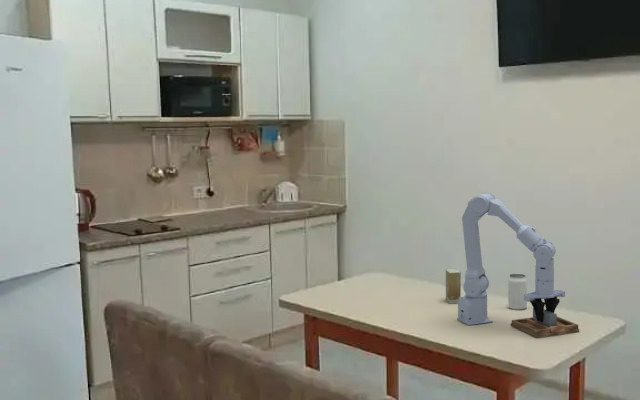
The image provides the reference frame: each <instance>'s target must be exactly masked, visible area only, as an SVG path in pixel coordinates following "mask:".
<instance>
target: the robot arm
mask: <svg viewBox="0 0 640 400" xmlns="http://www.w3.org/2000/svg"><path fill="white" fill-rule="evenodd" d="M485 214H487V216H493V217H498V218H499V219H500V220H501V221H503V222H504V223H505V224H507V226H508V227H509V228H511V229H512V230H513V231H515V232H516V238H517V240H519V242H521V244H523V245H524V246H525V247H526V248H527V249H528V250H529V251H530V252H532V255H533V258H534V259H535V266H534V267H535V273H534V274H535V275H534V276H535V278H534V279H535V280H534V281H535V284H534V285H535V286H534V287H535V291H533V292H529V293H527V294H524V301H527V303H528V302H529V303H530V304H531V305H532V307H533V308H534V311H535V314H536V318H537V321H540V322H543V310H544V309H545V310H547V311H550V312H552V313H555V311H556V309H557V307H558V305H559V304H560V303H561V302H560V299H559V298H560V297H561V298H565V297H566V291H565V290H563V289H557V290H555V261H554V257H555V255H556V250H557V249H556V247H555V246H554V244H553V243H552V241H548V240H547V238H546V237H542V235H540V234H539V233H538V232H537V231H536V230H537V228H536V227H534V226H532V227H531V225H525V224H523V223H522V222H521V221H520V220H519V219H518V218H517V217H516V216H515V215H514V214H513V212H512V211H510V209H508V207H507V206H505V204H504V203H503V202H502V201H501V200H500V199H499V198H496V196H495V195H494V194H493V193H491V192H484V193H482V194H478V195H475V196H474V197H472V198H471V199H470V200H469V201H468V202H467V205H466V209H465V210H464V212H463V214H462V217H461V222H462V232H463V242H464V251H465V262H466V272H465V274H464V283H463V287H462V288H463V291H464V294H465V295H464V296H461V298H459V300H458V303H457V317H456V320H458V321H460V322H462V323H464V324H465V325H468V326H471V325H479V324H486V323H493V320H492V319H490V318H488V292H487V291H486V290H487V289H489V285H490V281H489V278H488V277H487V275H486V270H485V268H484V266H483V261H482V260H483V259H482V258H483V257H482V251H481V240H480V230H479V229H480V228H479V221H480V220H481V219H482V217H484V216H485ZM533 308H532V309H533Z"/></svg>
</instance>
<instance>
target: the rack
mask: <svg viewBox="0 0 640 400" xmlns="http://www.w3.org/2000/svg"><path fill="white" fill-rule="evenodd" d="M510 327H512V328H514V329H516V330H518V331H520V332H522V333H524V334H527V335H529V336H530V337H532V338H536V339H541V338H543V339H544V338H546V337H547V338H548V337H554V336H561V335H569V334H576V333H580V328H579V324H578V323H575V322H572V321H570V320H567V319H564V318H562V317H560V316H557V326H551V327H550V328H549V327H547V326H545V325H542V324H540V323H538V322H535V321H533V316H530V317H523V318H518V319H517V318H516V319H512V320H511V322H510Z"/></svg>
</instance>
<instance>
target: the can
mask: <svg viewBox="0 0 640 400" xmlns="http://www.w3.org/2000/svg"><path fill="white" fill-rule="evenodd" d="M507 282H508V283H507V285H508V286H507V289H508V293H507V294H508V295H507V296H508V297H507V301H508V308H509V309H511V310H516V311H518V310H519V311H522V310H525V309H527V307H528V306H527V305H528V302H527V301H524V294H528V280H527V277H526V275H525V274H523V273H522V274H521V273H512V274H509V278H508V280H507Z"/></svg>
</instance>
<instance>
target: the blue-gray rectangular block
mask: <svg viewBox="0 0 640 400" xmlns="http://www.w3.org/2000/svg"><path fill="white" fill-rule="evenodd" d="M532 317H533V321H535V322H538V323H540V324H542V325H545V326H547V327H549V328H550V327H551V326H557V317H558V316H557V313H555V312H554V313H552V312H550V311H547V310H546V308H544V310H543V322H540V321H537V318H536V314H535V311H534V308H532Z"/></svg>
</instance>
